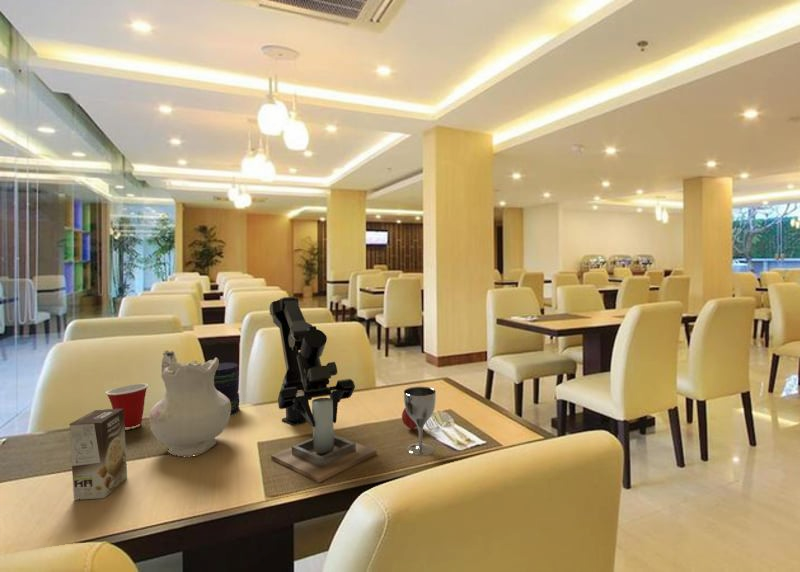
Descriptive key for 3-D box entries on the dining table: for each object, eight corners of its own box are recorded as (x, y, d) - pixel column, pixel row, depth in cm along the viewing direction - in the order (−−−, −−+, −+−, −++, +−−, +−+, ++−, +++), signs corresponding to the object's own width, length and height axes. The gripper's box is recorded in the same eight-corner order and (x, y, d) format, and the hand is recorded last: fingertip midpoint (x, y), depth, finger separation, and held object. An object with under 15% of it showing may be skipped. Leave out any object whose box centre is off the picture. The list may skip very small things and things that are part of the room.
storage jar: (245, 407, 148) (244, 362, 147) (228, 418, 139) (226, 370, 138) (218, 406, 150) (216, 362, 149) (200, 416, 141) (197, 369, 140)
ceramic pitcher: (128, 459, 114) (115, 364, 110) (188, 425, 132) (179, 343, 128) (195, 472, 106) (184, 370, 103) (249, 434, 125) (241, 347, 121)
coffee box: (105, 498, 93) (100, 422, 92) (72, 500, 92) (67, 424, 91) (128, 477, 102) (124, 407, 101) (98, 478, 102) (94, 409, 101)
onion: (420, 433, 124) (420, 405, 123) (400, 432, 125) (399, 404, 124) (424, 426, 129) (423, 398, 129) (404, 424, 131) (403, 397, 130)
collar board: (271, 459, 110) (271, 447, 109) (328, 436, 123) (328, 425, 123) (318, 482, 98) (318, 469, 98) (376, 454, 112) (375, 442, 111)
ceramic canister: (309, 452, 109) (308, 403, 108) (318, 443, 114) (317, 397, 113) (329, 454, 108) (327, 404, 107) (337, 445, 112) (335, 398, 112)
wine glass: (439, 444, 116) (439, 387, 115) (431, 458, 109) (430, 397, 108) (410, 441, 119) (409, 385, 118) (400, 454, 111) (399, 394, 110)
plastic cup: (135, 418, 140) (133, 380, 139) (158, 423, 135) (156, 384, 135) (99, 430, 130) (96, 390, 130) (122, 436, 126) (120, 394, 125)
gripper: (278, 356, 108) (290, 415, 99) (351, 348, 117) (368, 402, 107) (273, 380, 116) (284, 437, 107) (342, 371, 124) (357, 423, 115)
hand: (324, 424), depth 109 cm, fingers closed on ceramic canister, 5 cm apart
